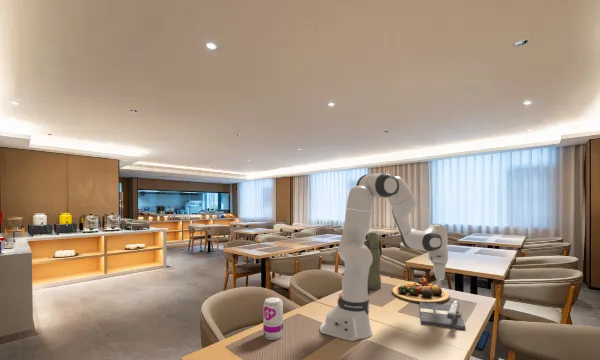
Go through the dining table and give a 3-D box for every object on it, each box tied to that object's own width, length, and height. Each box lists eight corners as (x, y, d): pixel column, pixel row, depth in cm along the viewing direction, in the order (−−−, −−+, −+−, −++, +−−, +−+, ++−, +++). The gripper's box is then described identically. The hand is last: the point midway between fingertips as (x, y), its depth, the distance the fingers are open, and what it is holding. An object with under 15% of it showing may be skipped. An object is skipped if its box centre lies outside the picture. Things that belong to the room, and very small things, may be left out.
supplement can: (275, 342, 119) (275, 304, 119) (259, 337, 123) (259, 300, 124) (286, 334, 125) (286, 298, 126) (271, 329, 130) (271, 295, 131)
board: (421, 324, 135) (420, 312, 135) (419, 304, 159) (419, 294, 159) (466, 330, 128) (466, 317, 128) (458, 309, 152) (457, 298, 153)
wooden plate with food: (407, 284, 198) (406, 271, 198) (458, 294, 175) (457, 280, 175) (382, 296, 175) (381, 282, 176) (436, 310, 152) (435, 294, 153)
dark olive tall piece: (385, 288, 187) (384, 233, 189) (370, 290, 183) (369, 234, 185) (377, 284, 195) (376, 232, 198) (362, 286, 191) (361, 232, 193)
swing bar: (451, 303, 145) (451, 299, 145) (460, 304, 143) (460, 301, 143) (445, 318, 128) (445, 313, 128) (456, 320, 125) (456, 315, 126)
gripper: (430, 252, 158) (430, 278, 157) (432, 259, 139) (433, 289, 138) (443, 253, 156) (443, 279, 155) (447, 260, 137) (447, 291, 136)
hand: (438, 284), depth 146 cm, fingers closed
